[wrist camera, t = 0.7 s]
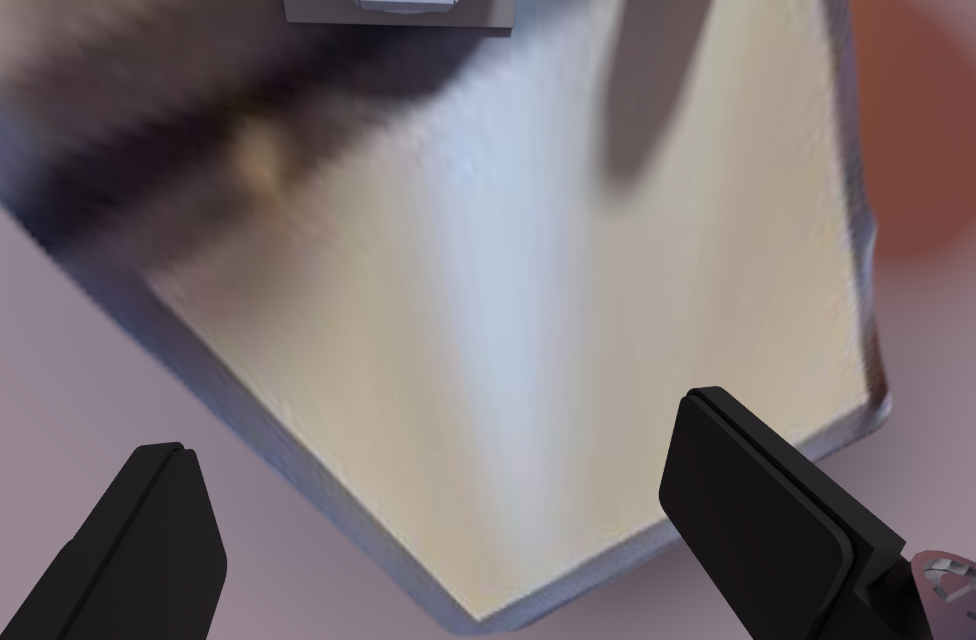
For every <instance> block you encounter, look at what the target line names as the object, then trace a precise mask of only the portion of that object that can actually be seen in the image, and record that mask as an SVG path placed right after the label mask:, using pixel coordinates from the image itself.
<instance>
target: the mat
mask: <svg viewBox="0 0 976 640" xmlns="http://www.w3.org/2000/svg"><path fill="white" fill-rule="evenodd" d="M283 1H284V7H285V14H286V20H287V22H291V23H329V24H368V25H407V26H446V27H485V28H514V0H459V1H458V2H457V3H456V4H455V6H454V7H453V8H452V9H451V10H449V11H448V12H428V13H423V14H417V15H399V14H390V13H387V12H383V11H379V10H362V8H361V6H360V7H359V8H358V7H357V6H356V5H355V4H354V2H353V1H352V0H283Z"/></svg>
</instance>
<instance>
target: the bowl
mask: <svg viewBox="0 0 976 640" xmlns="http://www.w3.org/2000/svg"><path fill="white" fill-rule="evenodd" d="M352 1H353V2H354V4H355V5H356V6H357V7H358V8H359V7H360V6H361V8H362V10H379V11H383V12H387V13H390V14H399V15H417V14H423V13H428V12H448V11H449V10H451V9H452V8H453V7H454V6H455V4H456V3H457V2H458V1H459V0H352Z"/></svg>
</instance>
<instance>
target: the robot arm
mask: <svg viewBox="0 0 976 640" xmlns="http://www.w3.org/2000/svg"><path fill="white" fill-rule="evenodd" d="M659 500H660V504H661V506H662V508H663V510H664V512H665V513H666V515H667V516H668V517H669V519H670V520H671V522H672V523H673V525H674V526H675V527H676V529H677V530H678V532H679V533H680V535H681V536H682V538H683V539H684V540H685V542H686V543H687V545H688V546H689V547H690V549H691V550H692V552H693V553H694V555H695V556H696V558H697V559H698V561H699V562H700V563H701V565H702V566H703V568H704V569H705V571H706V572H707V574H708V575H709V576H710V578H711V579H712V581H713V582H714V584H715V585H716V586H717V588H718V589H719V591H720V592H721V594H722V595H723V597H724V598H725V599H726V601H727V602H728V604H729V605H730V606H731V608H732V609H733V611H734V612H735V614H736V615H737V617H738V618H739V620H740V621H741V622H742V624H743V625H744V627H745V628H746V630H747V631H748V632H749V634H750V635H751V637H752V638H753V640H976V562H973V561H971V560H969V559H966V558H963V557H961V556H958V555H955V554H951V553H947V552H943V551H934V550H925V551H922V552H919V553H916V554H915V556H914V557H913V558H912V560H911V562H908V561H907V560H906V559H905V558H904V557H902V555H900V553H901V551H902V549H903V547H904V545H905V544H906V541H905V540H904V539H902V538H901V537H900V536H899V535H897V534H896V533H895V532H894V531H893V530H892V529H890V528H889V527H888V526H887V525H886V524H884V523H883V522H882V521H881V520H880V519H878V518H877V517H876V516H875V515H874V514H872V513H871V512H870V511H869V510H868V509H867V508H865V507H864V506H863V505H862V504H860V503H859V502H858V501H857V500H856V499H854V498H853V497H852V496H851V495H850V494H848V493H847V492H846V491H845V490H844V489H843V488H841V487H840V486H839V485H838V484H837V483H835V482H834V481H833V480H832V479H831V478H829V477H828V476H827V475H826V474H825V473H823V472H822V471H821V470H820V469H819V468H817V467H816V466H815V465H814V464H813V463H812V462H810V461H809V460H808V459H807V458H806V457H804V456H803V455H802V454H801V453H800V452H798V451H797V450H796V449H795V448H794V447H792V446H791V445H790V444H789V443H788V442H786V441H785V440H784V439H783V438H782V437H780V436H779V435H778V434H777V433H776V432H774V431H773V430H772V429H771V428H770V427H768V426H767V425H766V424H765V423H764V422H763V421H761V420H760V419H759V418H758V417H757V416H755V415H754V414H753V413H752V412H751V411H749V410H748V409H747V408H746V407H745V406H743V405H742V404H741V403H740V402H739V401H737V400H736V399H735V398H734V397H733V396H731V395H730V394H729V393H728V392H727V391H725V390H724V389H723V388H721V387H718V386H712V387H702V388H693V389H691V390H689V391H688V392H687V395H686V396H685V397H683V398H682V399H681V401H680V404H679V409H678V413H677V417H676V421H675V426H674V430H673V434H672V438H671V442H670V447H669V451H668V455H667V459H666V463H665V468H664V472H663V476H662V480H661V485H660V489H659ZM226 572H227V557H226V553H225V550H224V546H223V543H222V540H221V536H220V533H219V530H218V526H217V523H216V519H215V516H214V513H213V509H212V506H211V503H210V500H209V496H208V492H207V489H206V486H205V482H204V479H203V476H202V472H201V469H200V466H199V462H198V459H197V456H196V453H195V451H194V450H193V449H186V450H185V449H184V446H183V445H182V444H181V443H180V442H170V443H160V444H152V445H142V446H139V447H137V448H136V449H135V450H134V452H133V453H132V454H131V456H130V457H129V459H128V460H127V462H126V463H125V464H124V466H123V467H122V469H121V470H120V472H119V473H118V475H117V476H116V477H115V479H114V481H113V482H112V483H111V485H110V486H109V488H108V489H107V490H106V492H105V493H104V495H103V496H102V497H101V499H100V500H99V502H98V503H97V505H96V506H95V508H94V509H93V510H92V512H91V513H90V515H89V516H88V518H87V519H86V520H85V522H84V523H83V525H82V526H81V528H80V529H79V530H78V532H77V533H76V535H75V536H74V538H73V539H72V540H70V541H69V542H68V543H67V544H66V545H65V546H64V547H63V548H62V550H60V552H59V553H58V555H57V556H56V557H55V559H54V560H53V561H52V563H51V564H50V566H49V567H48V569H47V570H46V571H45V573H44V574H43V576H42V577H41V578H40V580H39V581H38V583H37V584H36V586H35V587H34V588H33V590H32V591H31V593H30V594H29V595H28V597H27V598H26V600H25V601H24V603H23V604H22V605H21V607H20V608H19V610H18V611H17V613H16V614H15V615H14V617H13V618H12V620H11V621H10V622H9V624H8V625H7V627H6V628H5V630H4V631H3V632H2V634H1V635H0V640H206V638H207V635H208V632H209V628H210V625H211V622H212V619H213V616H214V613H215V609H216V606H217V603H218V600H219V597H220V594H221V591H222V588H223V585H224V581H225V578H226Z"/></svg>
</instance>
